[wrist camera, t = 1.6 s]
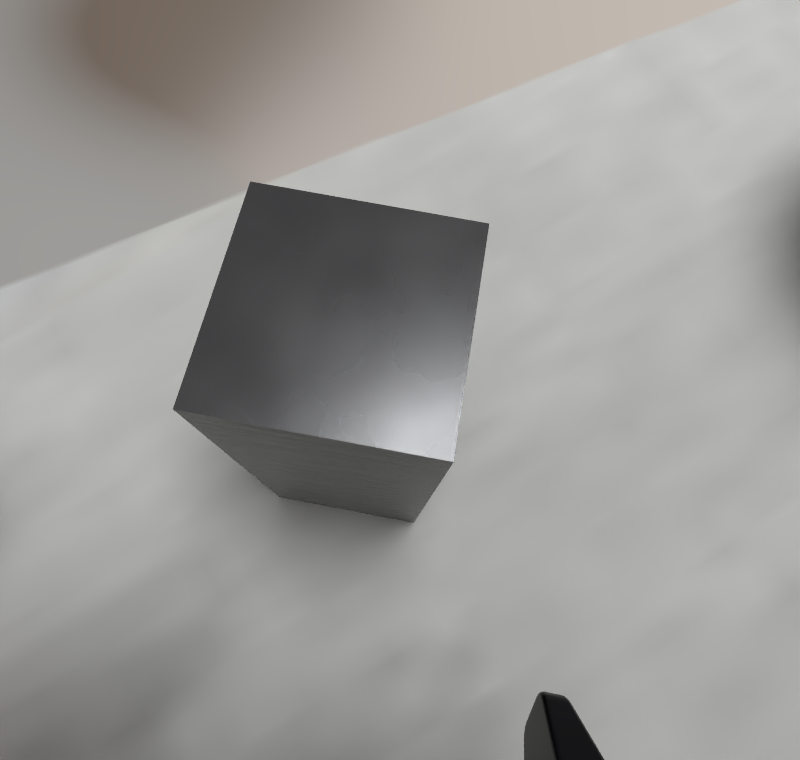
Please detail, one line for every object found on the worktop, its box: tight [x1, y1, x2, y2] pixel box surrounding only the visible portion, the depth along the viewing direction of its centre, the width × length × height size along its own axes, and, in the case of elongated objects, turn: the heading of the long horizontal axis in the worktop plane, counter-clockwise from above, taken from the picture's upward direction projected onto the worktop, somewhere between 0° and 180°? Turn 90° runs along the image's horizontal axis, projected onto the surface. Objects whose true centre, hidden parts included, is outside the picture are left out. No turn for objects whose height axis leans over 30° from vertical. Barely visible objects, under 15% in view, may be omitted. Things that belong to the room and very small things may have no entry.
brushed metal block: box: [173, 182, 489, 522], centre depth 17 cm, size 5×5×12 cm
